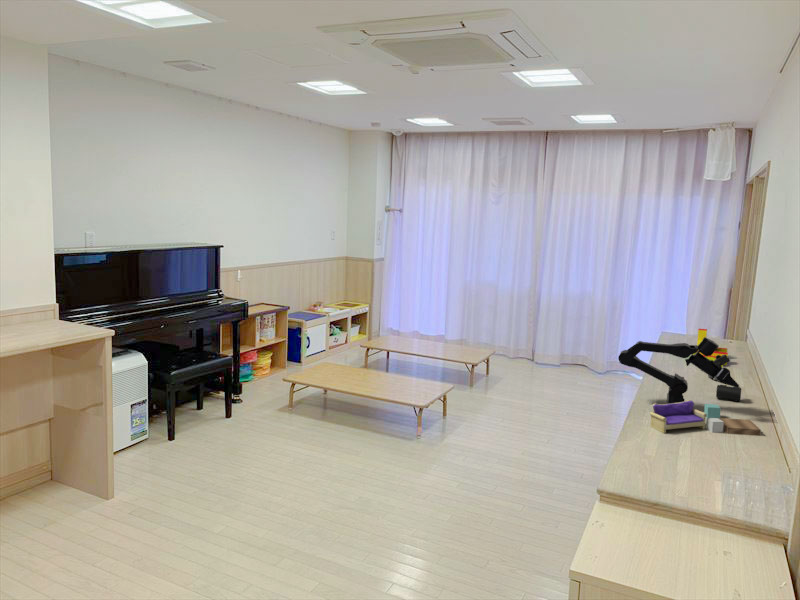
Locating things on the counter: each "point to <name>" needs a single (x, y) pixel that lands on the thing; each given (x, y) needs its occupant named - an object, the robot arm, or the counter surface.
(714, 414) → the teal block
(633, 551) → the counter surface
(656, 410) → the toy sofa
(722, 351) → the building blocks toy
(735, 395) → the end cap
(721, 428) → the grey cube
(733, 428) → the base block
